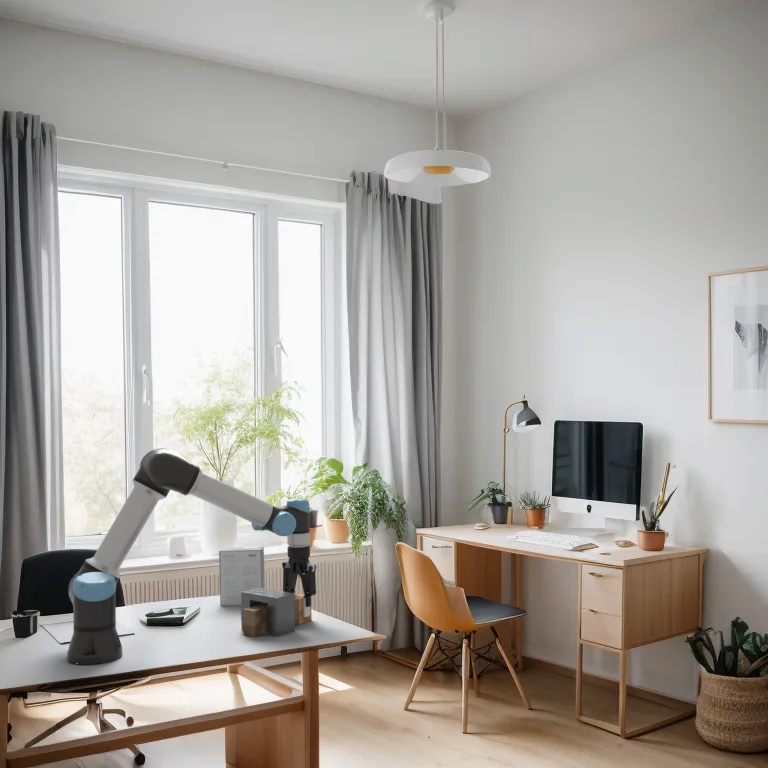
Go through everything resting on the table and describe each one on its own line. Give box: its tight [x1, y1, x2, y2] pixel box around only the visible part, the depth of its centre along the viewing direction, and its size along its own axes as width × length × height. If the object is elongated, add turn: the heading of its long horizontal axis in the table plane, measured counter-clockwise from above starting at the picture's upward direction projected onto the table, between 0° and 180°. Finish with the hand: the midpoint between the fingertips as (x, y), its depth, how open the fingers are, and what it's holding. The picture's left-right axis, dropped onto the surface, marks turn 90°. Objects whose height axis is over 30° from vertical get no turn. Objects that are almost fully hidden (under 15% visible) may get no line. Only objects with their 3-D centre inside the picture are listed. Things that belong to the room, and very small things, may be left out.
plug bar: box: [242, 593, 313, 638], centre depth 282 cm, size 26×6×8 cm, turn 142°
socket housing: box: [240, 587, 296, 638], centre depth 279 cm, size 8×16×12 cm, turn 53°
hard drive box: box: [218, 546, 266, 607], centre depth 318 cm, size 16×8×20 cm, turn 89°
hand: (299, 614), depth 290 cm, fingers closed on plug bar, 5 cm apart
